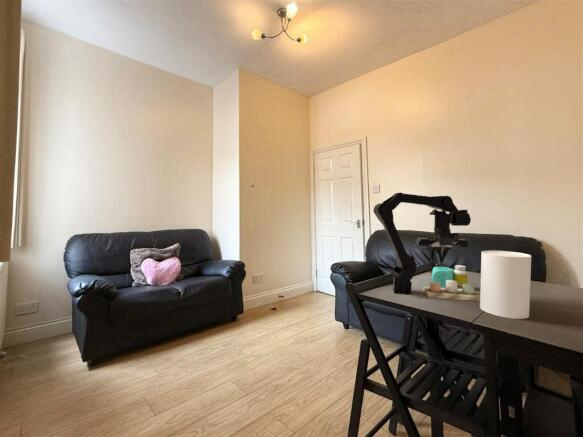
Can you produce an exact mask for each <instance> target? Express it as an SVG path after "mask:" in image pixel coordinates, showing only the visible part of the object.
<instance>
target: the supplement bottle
mask: <svg viewBox="0 0 583 437" xmlns="http://www.w3.org/2000/svg"><path fill="white" fill-rule="evenodd" d="M453 280H454V281H457V289H462V285H463V284H468V272H467V270H466V265H461V264H456V265H455V266H454V269H453Z"/></svg>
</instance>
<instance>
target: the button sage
mask: <svg viewBox="0 0 583 437" xmlns="http://www.w3.org/2000/svg"><path fill="white" fill-rule="evenodd" d="M474 291H475V285H473V284H469V283H467V284H463V285H462V294H466V295H474Z"/></svg>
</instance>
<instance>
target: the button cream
mask: <svg viewBox="0 0 583 437" xmlns="http://www.w3.org/2000/svg"><path fill="white" fill-rule="evenodd" d="M457 289H458V288H457V281H454V280H446V291H448V292H453V293H455V292H457Z"/></svg>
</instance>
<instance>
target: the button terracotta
mask: <svg viewBox="0 0 583 437" xmlns="http://www.w3.org/2000/svg"><path fill="white" fill-rule="evenodd" d="M429 287H430V292H437V293H441V284H440V283H437V282H432V281H431V282H429Z"/></svg>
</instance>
